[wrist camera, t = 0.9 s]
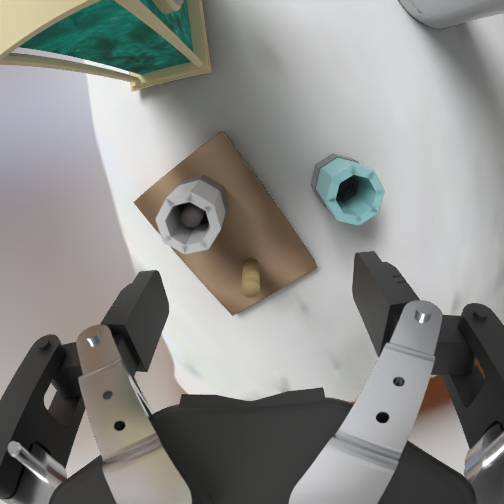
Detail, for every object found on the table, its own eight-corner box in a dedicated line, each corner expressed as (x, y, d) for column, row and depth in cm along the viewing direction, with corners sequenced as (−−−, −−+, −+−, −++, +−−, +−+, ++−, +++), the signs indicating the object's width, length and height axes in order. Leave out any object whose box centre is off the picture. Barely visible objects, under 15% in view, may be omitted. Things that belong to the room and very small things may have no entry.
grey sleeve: (190, 166, 28) (174, 180, 22) (236, 193, 29) (232, 214, 23) (166, 210, 30) (146, 234, 24) (210, 235, 31) (200, 264, 25)
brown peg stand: (222, 131, 28) (214, 134, 22) (314, 260, 34) (326, 291, 28) (138, 198, 31) (114, 218, 25) (233, 308, 37) (229, 343, 31)
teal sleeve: (344, 146, 28) (366, 154, 22) (367, 187, 30) (392, 205, 24) (303, 172, 30) (315, 186, 24) (328, 212, 32) (344, 235, 26)
